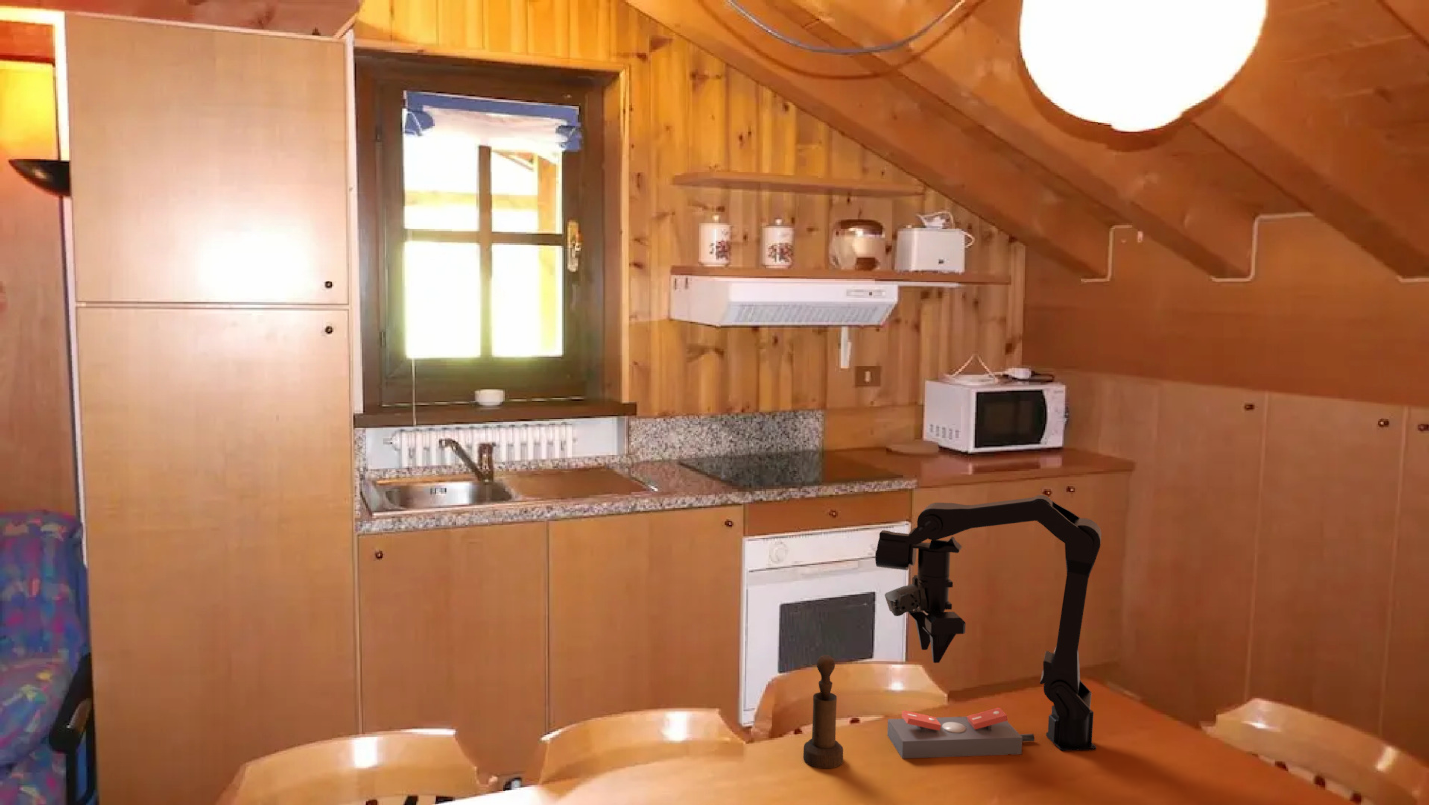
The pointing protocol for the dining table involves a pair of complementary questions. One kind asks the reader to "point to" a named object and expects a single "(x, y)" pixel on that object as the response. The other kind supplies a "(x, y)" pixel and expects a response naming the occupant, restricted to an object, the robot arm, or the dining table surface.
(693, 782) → the dining table surface
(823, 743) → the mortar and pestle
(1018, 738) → the switch panel
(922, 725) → the switch
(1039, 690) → the dining table surface
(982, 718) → the switch
